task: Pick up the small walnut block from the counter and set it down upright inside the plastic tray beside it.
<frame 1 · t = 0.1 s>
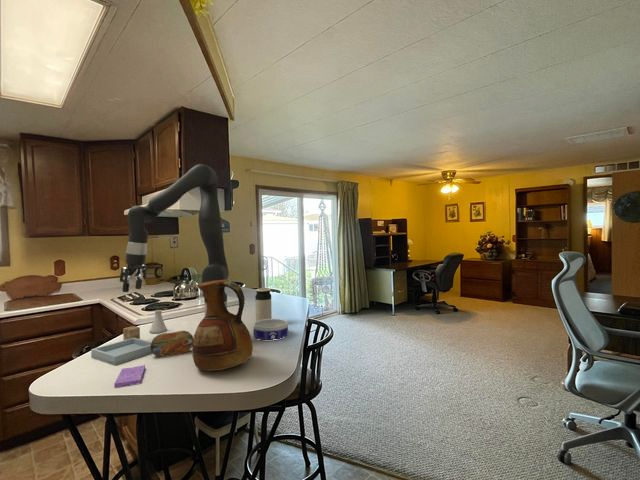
hand: (132, 290, 138), 22 cm above the kitchen counter, tool pointing down, fingers open, 8 cm apart
travel mug: (263, 324, 165), on the kitchen counter
tin: (172, 354, 124), on the kitchen counter
ceramic pitcher: (223, 366, 112), on the kitchen counter
walnut block: (131, 341, 140), on the kitchen counter
tray: (125, 354, 124), on the kitchen counter
flask: (158, 332, 155), on the kitchen counter
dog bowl: (271, 336, 146), on the kitchen counter
sponges: (130, 379, 103), on the kitchen counter
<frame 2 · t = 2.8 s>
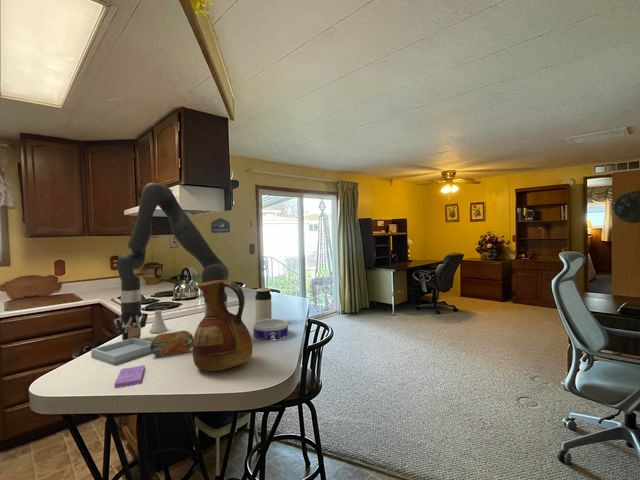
hand: (131, 339, 140), 1 cm above the kitchen counter, tool pointing down, fingers closed on walnut block, 4 cm apart
walnut block: (131, 341, 140), on the kitchen counter, touching gripper
everything else where it was.
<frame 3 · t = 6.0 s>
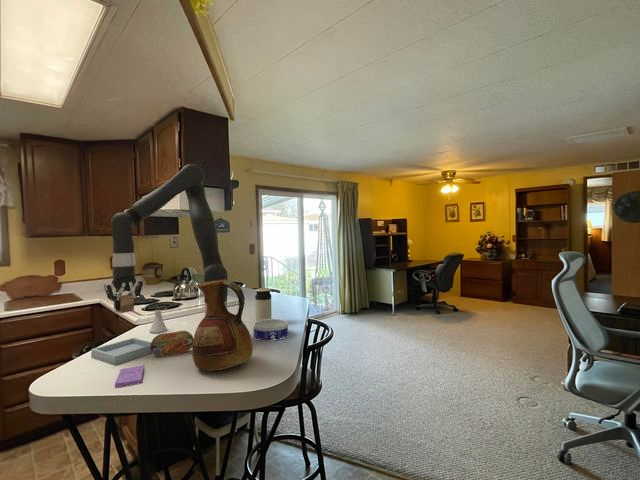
hand: (124, 308, 125), 17 cm above the kitchen counter, tool pointing down, fingers closed on walnut block, 4 cm apart
walnut block: (124, 311, 125), point 16 cm above the kitchen counter, touching gripper
everything else where it was.
when the fingers open (3 cm above the kitchen counter, at t = 9.2 s): walnut block drops 1 cm, resting on tray.
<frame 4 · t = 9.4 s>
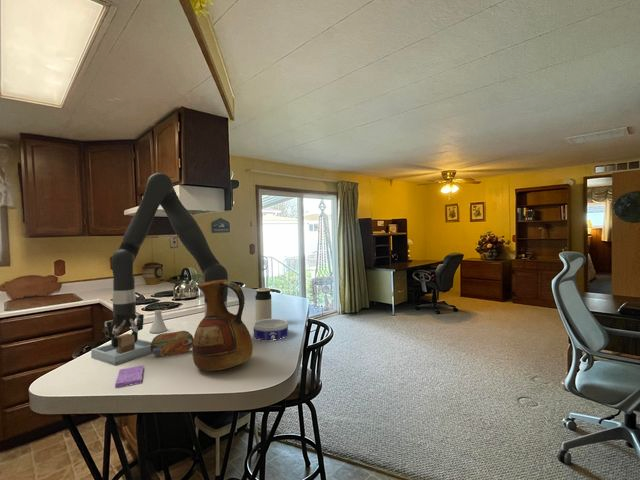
hand: (125, 344, 124), 4 cm above the kitchen counter, tool pointing down, fingers open, 6 cm apart
walnut block: (125, 351, 124), point 1 cm above the kitchen counter, touching tray
everything else where it was.
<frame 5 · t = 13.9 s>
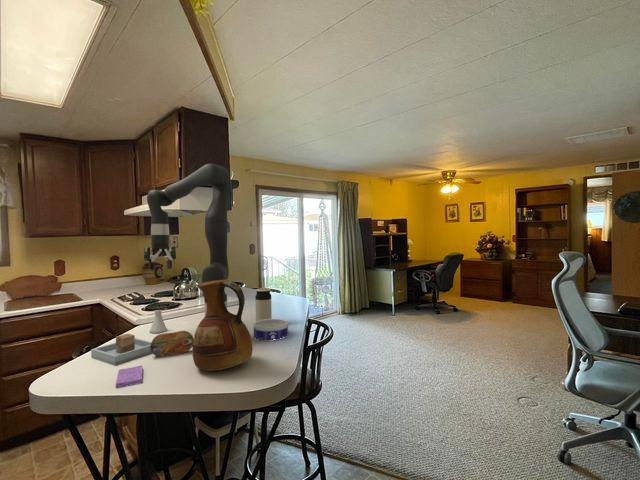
hand: (160, 269, 148), 30 cm above the kitchen counter, tool pointing down, fingers open, 8 cm apart
nothing on the kitchen counter moved.
at the end: walnut block inside the target area on the tray (0.1 cm from its centre), point 1.0 cm above the tray's base; walnut block tilted 0°; the gripper is holding nothing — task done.
